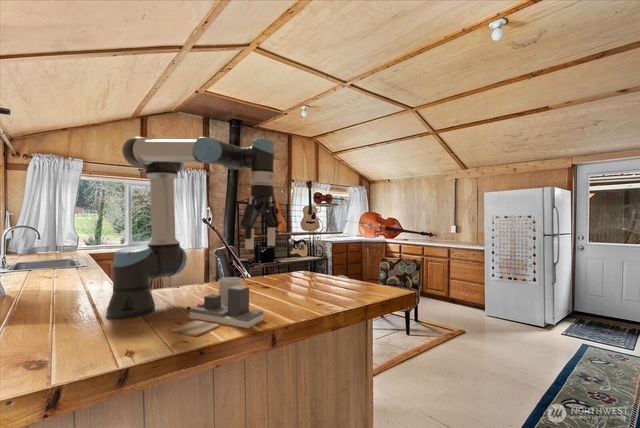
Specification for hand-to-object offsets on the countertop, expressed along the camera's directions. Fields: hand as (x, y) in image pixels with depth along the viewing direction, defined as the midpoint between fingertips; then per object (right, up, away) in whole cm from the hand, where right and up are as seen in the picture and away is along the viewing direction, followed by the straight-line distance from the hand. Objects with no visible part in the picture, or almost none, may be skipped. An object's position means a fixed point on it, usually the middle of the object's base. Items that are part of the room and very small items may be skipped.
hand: (260, 247), depth 111 cm
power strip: (-12, -25, +1) cm, 28 cm away
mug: (-15, -25, +16) cm, 33 cm away
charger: (-8, -23, 0) cm, 24 cm away
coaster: (-19, -25, -9) cm, 32 cm away
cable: (-26, -25, +9) cm, 37 cm away
